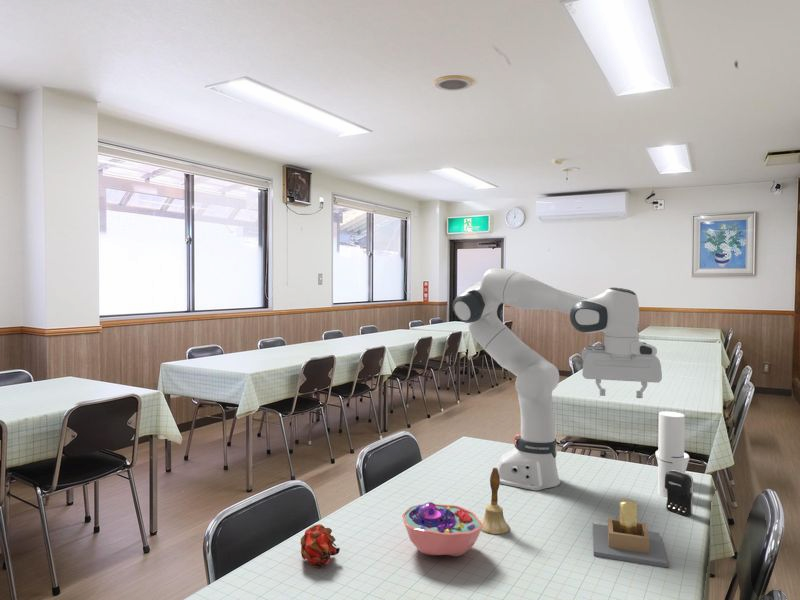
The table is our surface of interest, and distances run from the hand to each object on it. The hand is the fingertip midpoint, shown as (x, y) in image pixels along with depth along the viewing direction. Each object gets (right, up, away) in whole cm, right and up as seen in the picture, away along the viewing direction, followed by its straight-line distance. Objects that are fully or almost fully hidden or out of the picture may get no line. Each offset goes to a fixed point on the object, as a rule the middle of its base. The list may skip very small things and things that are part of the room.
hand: (620, 396), depth 146 cm
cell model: (-51, -35, -17) cm, 64 cm away
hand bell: (-36, -35, -4) cm, 50 cm away
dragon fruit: (-80, -35, -22) cm, 90 cm away
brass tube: (-4, -34, -15) cm, 37 cm away
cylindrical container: (+23, -34, +18) cm, 45 cm away
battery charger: (+18, -34, +5) cm, 39 cm away
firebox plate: (-4, -35, -15) cm, 38 cm away
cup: (+29, -34, +29) cm, 53 cm away
